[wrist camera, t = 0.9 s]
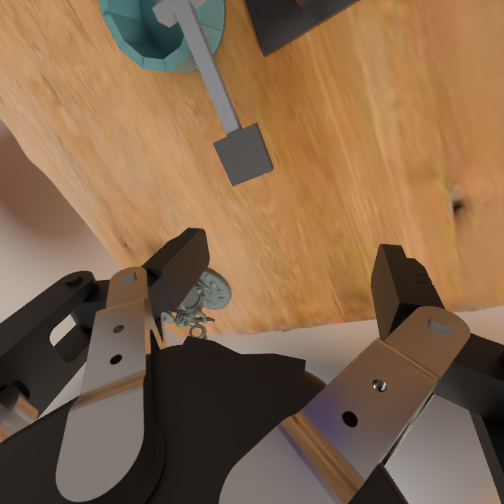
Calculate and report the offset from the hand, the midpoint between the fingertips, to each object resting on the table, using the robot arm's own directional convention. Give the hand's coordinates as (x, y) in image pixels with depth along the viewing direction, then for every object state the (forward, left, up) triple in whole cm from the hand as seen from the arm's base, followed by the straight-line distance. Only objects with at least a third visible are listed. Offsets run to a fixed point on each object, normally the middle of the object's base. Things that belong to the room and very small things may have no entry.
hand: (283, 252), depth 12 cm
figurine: (+29, +19, -25) cm, 43 cm away
